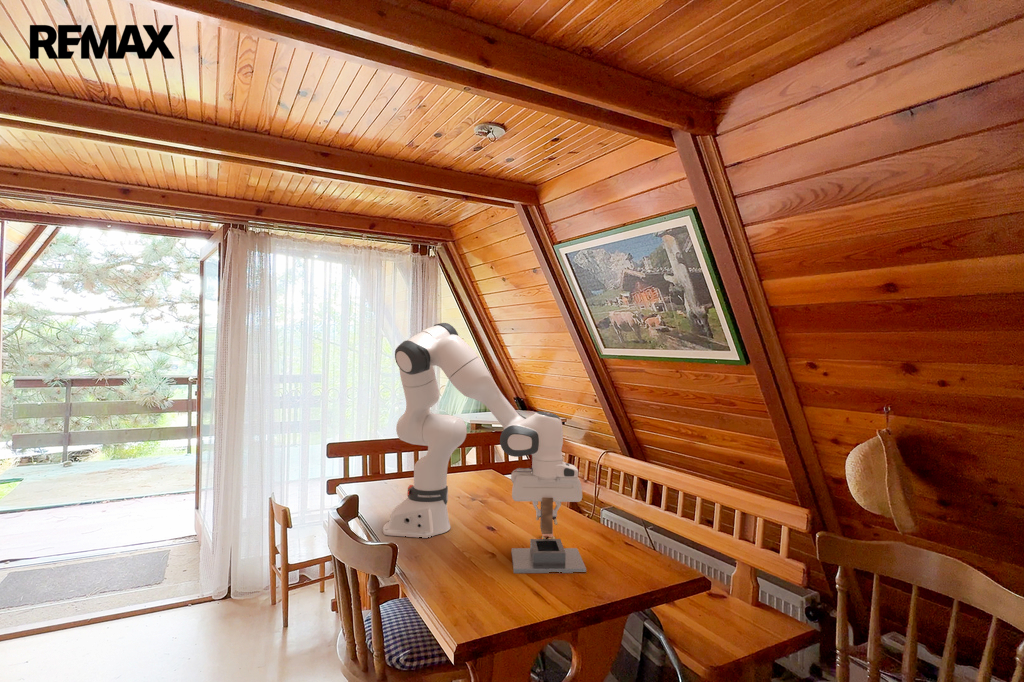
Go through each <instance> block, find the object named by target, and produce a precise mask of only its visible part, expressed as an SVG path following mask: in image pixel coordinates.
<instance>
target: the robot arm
mask: <svg viewBox="0 0 1024 682" xmlns="http://www.w3.org/2000/svg"><path fill="white" fill-rule="evenodd" d="M394 360H395V363H396V365H397V366H398V368H399V375H400V376H399V377H400V380H401V385H402V388H403V393H404V397H405V403H406V404H405V405H406V408H405V412H404V413H403V414H402V415H401V416H400V418H399V419H397V420H398V421H397V423H396V426H395V427H396V429H395V430H396V435H397V437H398V439H399V440H400V441H403V442H405V443H408V444H410V445H417V446H425V447H427V453H426V455H425V456H422V457H421V458H420V459H418V460H417V461H416V462H415V464H414V466H413V484H410V485H409V486H408V487H407V495H406V496H407V498H405V499H404V500H402V501H401V503H399V504H397V505H396V506H395V507H394V509H393V510H392V511H391V515H390V519H389V521H387V522H386V523H385V524H384V525H383V526H382V533H383V535H385V536H394V537H405V536H406V538H407V537H408V538H419V537H422V538H421V539H429V538H432V537H434V536H437V535H441V534H442V535H443V534H444V533H446V532H448V531H450V530H451V527H452V526H451V523H450V519H449V513H448V501H449V489H448V485H447V479H448V467H449V462H450V458H451V457H452V455H453V453H454V452H455V450H456V449H457V448H458V447H460V446H461V445H463V443H464V442H465V440H466V438H467V433H468V429H467V425H466V422H465V421H464V419H463V418H460V417H458V416H455V415H451V414H442V413H441V414H440V413H432V411H431V408H432V407H434V406H435V405H436V404H437V403H438V401H439V398H440V390H439V386H438V382H437V377H436V374H435V368H434V366H436V367H439V368H440V369H441V371H443V373H444V374H445V376H446V377H447V379H448V380H449V382H450V383H451V384H452V385H453V386H454V388H455V389H456V390H458V392H459V393H461V394H462V395H463V396H464V397H466V398H469V399H473V400H475V401H478V402H480V403H481V404H482V405H484V406H486V408H487V409H488V410H489V411H490V412H491V414H492V415H493V416H494V418H495V419H496V420H497V421H498V422H499V424H500V425H501V427H502V429H503V431H502V432H501V434H500V437H499V444H500V447H501V449H502V451H503V452H504V453H505V454H506V455H508V456H510V457H514V458H515V457H517V458H519V457H526V456H530V455H531V462H532V463H531V464H532V465H531V467H526V468H525V467H524V468H523V467H517V468H516V469H514V470H512V472H511V475H510V476H511V477H510V480H511V483H512V490H511V497H512V500H513V501H514V502H532V505H533V508H534V510H535V511H536V512H535V513H536V515H535V516H536V517H540V518H541V517H542V510H541V508H540V509H539V508H538V505H539V502H540V503H541V502H542V498H553V503H554V502H555V507H554V508H553V517H556V518H557V517H558V511H559V509H560V508H561V506H562V503H570V502H572V503H573V502H574V503H579V502H581V501H582V499H583V487H582V482H581V480H580V478H579V469H578V467H577V466H575V465H574V464H571V463H567V462H565V461H563V459H564V458H563V457H564V456H563V452H562V449H563V445H564V430H563V429H564V428H563V421H562V418H561V417H560V416H559V415H557V414H555V413H552V412H548V411H543V410H542V411H541V410H540V411H539V410H538V411H536V412H535V413H533V414H532V415H530V416H528V417H525V416H523V415H522V414H520V413H519V412H518V410H516V408H514V406H513V405H512V404H511V403H510V401H509V399H507V397H505V395H504V394H503V392H502V391H501V390H500V388H499V387H498V385H497V384H496V382H495V380H494V379H493V377H492V374H491V373H490V372H489V370H488V368H487V366H486V365H485V364H484V362H483V361H482V359H481V358H480V357H479V355H478V354H477V352H476V351H475V350H474V349H473V348H472V347H471V346H470V345H469V344H468V343H467V342H466V341H465V340H464V339H463V338H462V337H460V336H459V333H458V332H457V330H456V328H455V327H454V326H453V325H451V324H450V323H447V322H440V323H436V324H433V326H430V327H427V328H425V329H423V330H420V331H419V332H418V333H416V334H415V335H413V336H411V337H410V338H409V339H407V340H404V341H402V342H401V343H400V344H399V345H398V346H397V347H396V349H395V351H394ZM536 517H535V518H536ZM431 536H432V537H431ZM428 537H429V538H428Z"/></svg>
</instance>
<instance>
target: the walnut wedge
mask: <svg viewBox="0 0 1024 682" xmlns="http://www.w3.org/2000/svg"><path fill="white" fill-rule="evenodd" d="M540 509H541V510H542V517H540V526H539V528H540V531H541V535H542V534H552V527H553V528H554V525H553V523H554V520H553V509H554V502H553V498H542V502H540Z"/></svg>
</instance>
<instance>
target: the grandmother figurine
mask: <svg viewBox="0 0 1024 682" xmlns="http://www.w3.org/2000/svg"><path fill="white" fill-rule="evenodd" d="M540 519H541V517H535V520H536V521H540ZM553 523H554V525H555V526H557V525H558V520H557V517H553ZM553 528H554V526H553V527H552V534H542V533H541V535H542V536H541V539H542V538H543V539H546V538H547V537H548V538H547V539H556V537H555V536H554V529H553Z"/></svg>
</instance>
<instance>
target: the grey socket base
mask: <svg viewBox="0 0 1024 682" xmlns="http://www.w3.org/2000/svg"><path fill="white" fill-rule="evenodd" d="M529 541H530V543H529V546H530V547H527V548H526V547H525V548H523V547H518V548H516V547H513V548H511V560H512V567H513V569H512V571H513V574H550V573H549V572H559V573H558V574H574V573H573V572H586V573H587V567H586V565H585V563H584V560H583V558H582V555H581V554H580V552H579V549H578V548H577V547H572V548H571V547H568V548H567V547H564V546H563V542H562V539H561V538H555V539H548V538H547V539H542V538H530V539H529ZM560 572H562V573H560Z"/></svg>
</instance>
